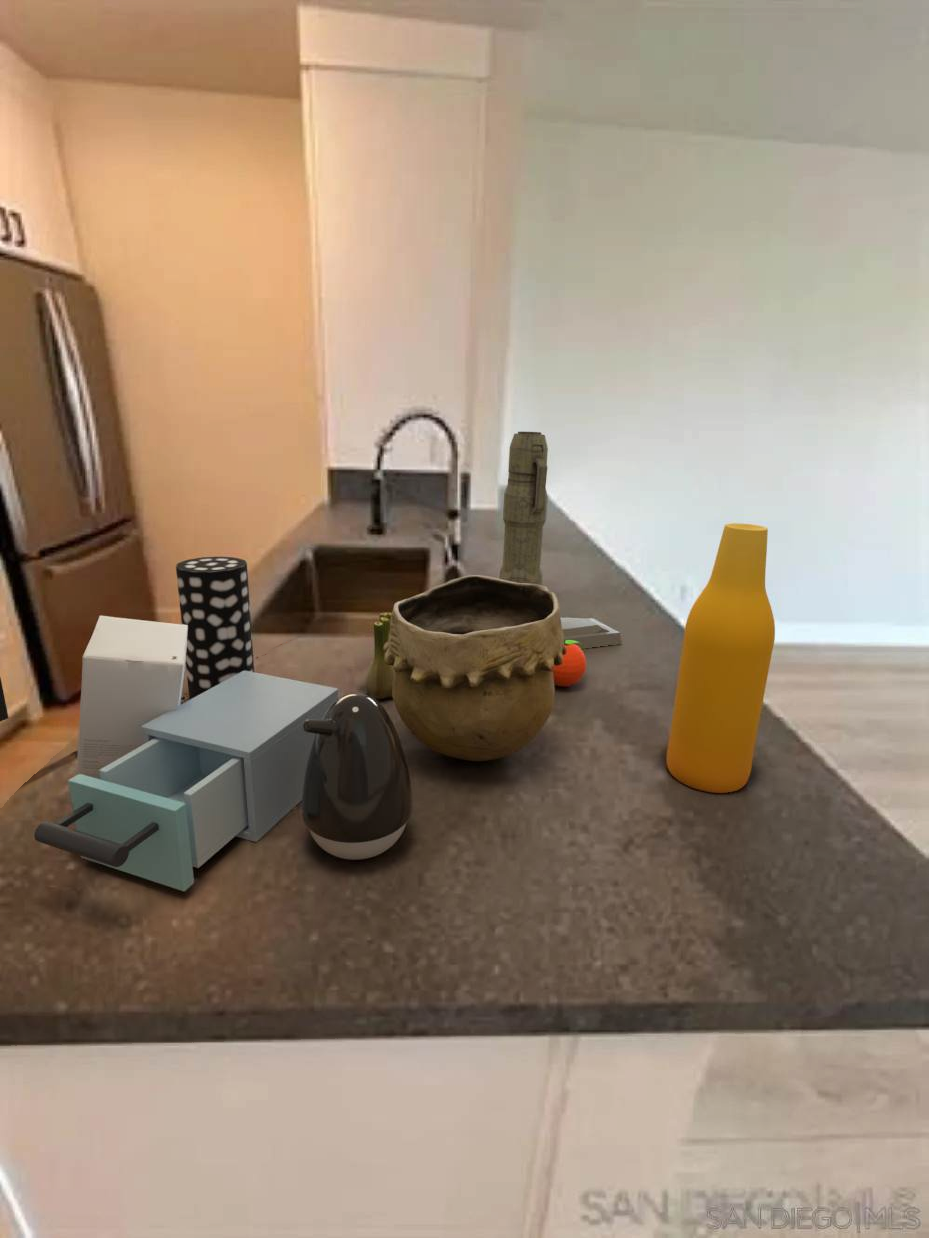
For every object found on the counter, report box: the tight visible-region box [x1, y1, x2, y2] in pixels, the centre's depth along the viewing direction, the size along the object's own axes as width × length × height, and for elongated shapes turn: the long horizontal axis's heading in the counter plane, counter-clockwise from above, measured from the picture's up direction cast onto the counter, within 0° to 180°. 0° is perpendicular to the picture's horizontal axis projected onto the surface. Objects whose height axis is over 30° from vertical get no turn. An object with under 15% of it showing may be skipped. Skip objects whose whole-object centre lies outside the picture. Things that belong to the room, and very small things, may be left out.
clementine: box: [553, 640, 587, 687], centre depth 101 cm, size 8×7×7 cm
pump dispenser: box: [301, 692, 413, 861], centre depth 62 cm, size 10×10×15 cm
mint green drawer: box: [33, 737, 249, 892], centre depth 61 cm, size 19×11×8 cm, turn 160°
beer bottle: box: [666, 522, 776, 794], centre depth 74 cm, size 9×9×29 cm
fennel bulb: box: [365, 612, 395, 700], centre depth 94 cm, size 6×5×12 cm
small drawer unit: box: [141, 670, 340, 843], centre depth 71 cm, size 16×13×10 cm
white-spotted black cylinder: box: [175, 556, 255, 701], centre depth 87 cm, size 8×8×20 cm
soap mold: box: [560, 617, 623, 650], centre depth 120 cm, size 10×20×4 cm, turn 113°
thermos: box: [499, 431, 549, 586], centre depth 138 cm, size 9×12×35 cm
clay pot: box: [384, 574, 567, 762], centre depth 79 cm, size 21×21×20 cm
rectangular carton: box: [75, 614, 188, 780], centre depth 71 cm, size 9×9×15 cm
